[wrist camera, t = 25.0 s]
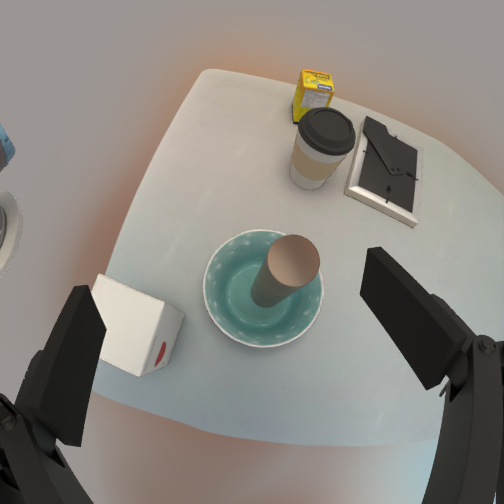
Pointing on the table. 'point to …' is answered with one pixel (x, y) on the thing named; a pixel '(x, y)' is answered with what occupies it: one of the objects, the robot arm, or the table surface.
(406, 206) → the picture frame
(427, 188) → the table surface
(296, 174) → the coffee cup
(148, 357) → the white product box
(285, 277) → the tall brown cylinder
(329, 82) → the supplement box
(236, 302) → the bowl
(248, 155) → the table surface
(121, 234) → the table surface
